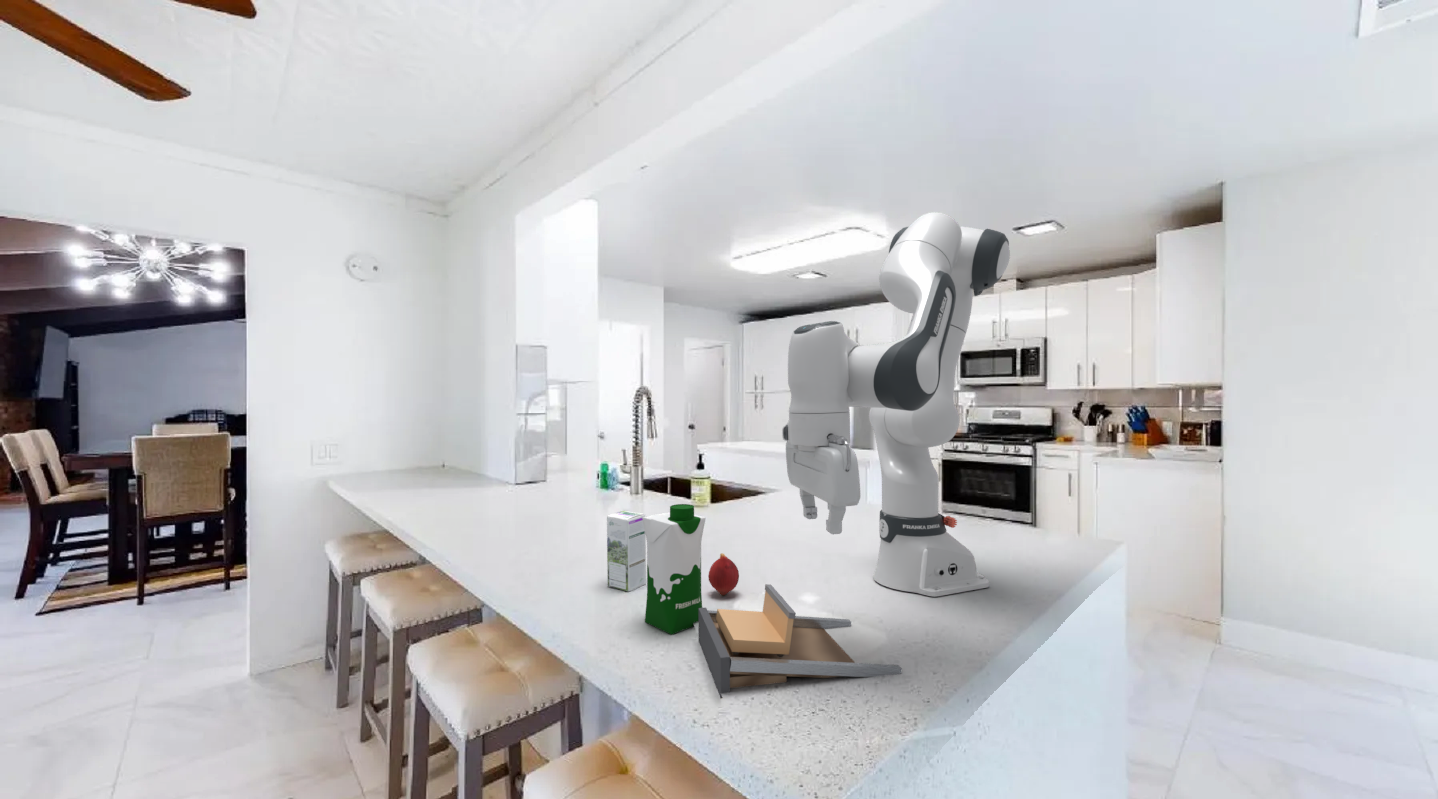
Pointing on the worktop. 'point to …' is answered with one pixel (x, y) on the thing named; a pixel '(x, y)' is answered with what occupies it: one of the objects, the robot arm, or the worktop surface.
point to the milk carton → (673, 568)
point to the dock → (806, 656)
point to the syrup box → (626, 550)
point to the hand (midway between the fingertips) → (821, 525)
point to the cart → (759, 626)
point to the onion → (723, 575)
